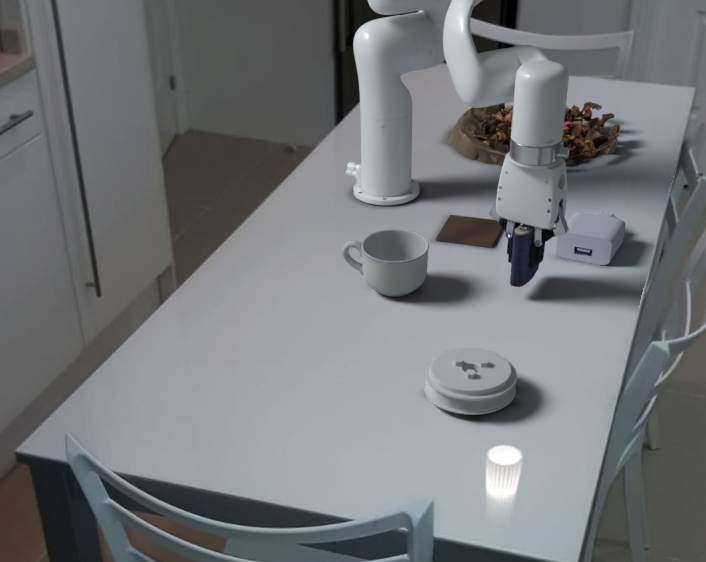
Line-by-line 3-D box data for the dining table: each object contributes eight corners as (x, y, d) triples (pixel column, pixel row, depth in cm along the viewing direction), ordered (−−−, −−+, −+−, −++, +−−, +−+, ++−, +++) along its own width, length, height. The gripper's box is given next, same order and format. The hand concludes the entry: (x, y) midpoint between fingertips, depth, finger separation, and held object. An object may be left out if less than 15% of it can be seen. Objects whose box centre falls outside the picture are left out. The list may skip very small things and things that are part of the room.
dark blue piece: (527, 260, 179) (533, 199, 172) (544, 264, 178) (550, 202, 171) (506, 285, 172) (511, 222, 166) (523, 289, 171) (530, 226, 164)
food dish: (640, 135, 231) (646, 98, 226) (577, 192, 210) (583, 153, 205) (492, 102, 245) (495, 67, 240) (419, 153, 224) (421, 115, 219)
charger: (631, 231, 192) (608, 266, 182) (580, 222, 196) (555, 256, 185) (635, 205, 189) (612, 240, 179) (583, 197, 193) (558, 230, 182)
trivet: (435, 240, 191) (435, 237, 190) (450, 217, 198) (450, 214, 198) (491, 247, 188) (491, 244, 188) (504, 224, 196) (504, 220, 195)
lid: (450, 429, 146) (451, 398, 142) (409, 383, 155) (409, 352, 152) (532, 406, 149) (535, 376, 146) (487, 362, 159) (489, 332, 156)
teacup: (437, 279, 179) (439, 234, 174) (412, 309, 172) (413, 263, 167) (361, 265, 184) (360, 220, 179) (333, 293, 176) (331, 247, 171)
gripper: (596, 152, 160) (581, 265, 172) (497, 130, 167) (489, 240, 179) (575, 170, 155) (561, 285, 167) (474, 147, 162) (467, 258, 174)
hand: (524, 261), depth 173 cm, fingers closed on dark blue piece, 3 cm apart
